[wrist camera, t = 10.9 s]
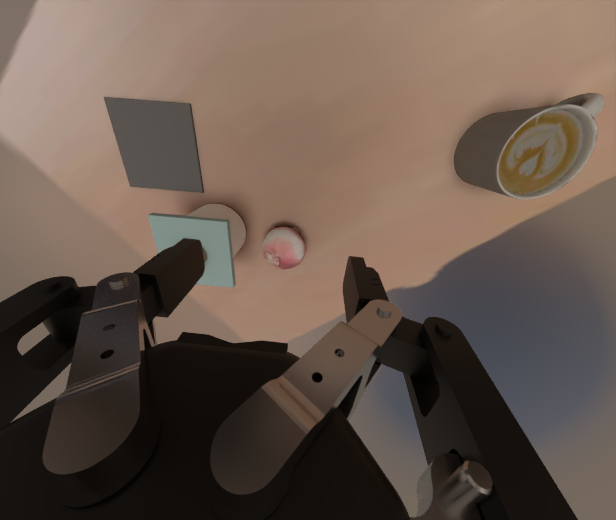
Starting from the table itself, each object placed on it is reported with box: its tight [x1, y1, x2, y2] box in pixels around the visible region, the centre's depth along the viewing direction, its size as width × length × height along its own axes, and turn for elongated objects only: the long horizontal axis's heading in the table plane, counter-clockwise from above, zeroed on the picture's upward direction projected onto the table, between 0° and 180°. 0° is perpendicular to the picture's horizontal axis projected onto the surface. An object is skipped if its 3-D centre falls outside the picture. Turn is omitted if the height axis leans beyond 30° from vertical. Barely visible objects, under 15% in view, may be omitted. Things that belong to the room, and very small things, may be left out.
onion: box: [262, 226, 305, 269], centre depth 41 cm, size 8×8×7 cm
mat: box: [104, 97, 204, 193], centre depth 37 cm, size 13×13×1 cm
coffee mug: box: [454, 93, 604, 199], centre depth 30 cm, size 13×10×10 cm
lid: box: [148, 213, 236, 288], centre depth 32 cm, size 11×11×6 cm
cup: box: [187, 204, 246, 258], centre depth 39 cm, size 10×10×10 cm
